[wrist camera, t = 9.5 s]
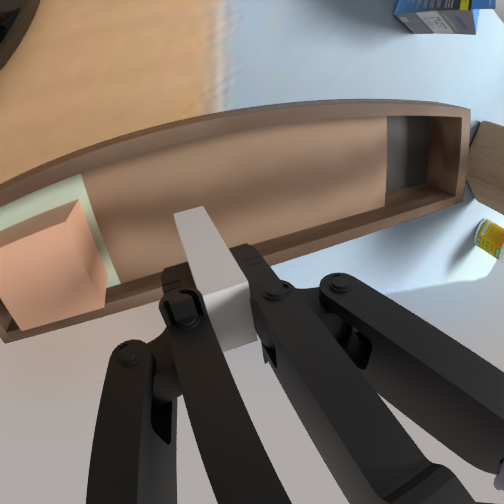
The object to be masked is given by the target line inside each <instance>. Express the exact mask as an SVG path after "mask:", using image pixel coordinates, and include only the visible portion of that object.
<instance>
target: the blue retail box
mask: <svg viewBox="0 0 504 504" xmlns="http://www.w3.org/2000/svg"><path fill="white" fill-rule="evenodd" d="M479 9H495V0H398V2H397V5H396V8H395V10H394V13H393V15H394V16H395V17H396V18H397V19H398V20H399V21H400V22H401V23H403V24H404V25H405V26H406V27H407V28H408V29H409V30H410V31H411V32H412V33H413V34H433V33H437V34H439V33H441V34H471V35H476V30H477V24H478V16H479Z"/></svg>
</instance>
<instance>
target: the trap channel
mask: <svg viewBox="0 0 504 504" xmlns="http://www.w3.org/2000/svg"><path fill="white" fill-rule="evenodd" d="M469 139H470V109H467V108H463V107H459V106H454V105H449V104H444V103H439V102H430V101H417V100H397V99H338V100H318V101H304V102H292V103H282V104H273V105H264V106H257V107H249V108H243V109H236V110H230V111H224V112H218V113H213V114H208V115H203V116H198V117H193V118H188V119H184V120H179V121H175V122H171V123H166V124H162V125H158V126H155V127H151V128H147V129H143V130H140V131H136V132H133V133H129V134H126V135H123V136H119V137H116V138H113V139H110V140H107V141H104V142H101V143H98V144H95V145H92V146H89V147H86V148H83V149H80V150H78V151H75V152H72V153H70V154H67V155H65V156H62V157H59V158H57V159H54V160H52V161H50V162H47V163H45V164H43V165H40V166H38V167H36V168H33V169H31V170H29V171H27V172H25V173H22V174H20V175H18V176H16V177H14V178H12V179H10V180H8V181H6V182H4V183H2V184H0V231H1V230H4V229H6V228H8V227H10V226H12V225H15V224H17V223H19V222H21V221H24V220H26V219H28V218H31V217H33V216H36V215H38V214H41V213H43V212H46V211H48V210H51V209H53V208H56V207H58V206H61V205H64V204H66V203H69V202H72V201H74V200H77V199H79V200H80V203H81V206H82V209H83V212H84V215H85V218H86V220H87V223H88V226H89V229H90V231H91V234H92V237H93V239H94V242H95V244H96V247H97V249H98V252H99V254H100V257H101V259H102V261H103V264H104V266H105V268H106V271H107V273H108V277H107V285H106V295H105V306H104V308H101V309H97V310H94V311H90V312H87V313H83V314H80V315H77V316H73V317H70V318H66V319H63V320H59V321H56V322H52V323H49V324H45V325H42V326H38V327H35V328H31V329H28V330H24V331H21V329H20V328H19V326H18V325H17V323H16V322H15V320H14V319H13V317H12V316H11V314H10V313H9V311H8V309H7V308H6V306H5V305H4V303H3V301H2V300H1V298H0V338H1V339H2V340H3V342H4V343H9V342H13V341H17V340H20V339H24V338H28V337H31V336H35V335H39V334H42V333H46V332H50V331H54V330H57V329H61V328H65V327H68V326H72V325H75V324H79V323H82V322H86V321H90V320H93V319H97V318H100V317H104V316H107V315H111V314H114V313H117V312H121V311H124V310H128V309H131V308H135V307H138V306H142V305H145V304H148V303H151V302H155V301H158V300H161V299H162V297H163V296H164V294H163V289H162V283H161V274H162V272H163V270H164V268H167V267H170V266H174V265H177V264H180V263H184V262H186V260H185V256H184V252H183V249H182V245H181V241H180V238H179V234H178V230H177V227H176V223H175V219H174V215H173V214H175V213H178V212H182V211H185V210H189V209H193V208H196V207H200V206H203V207H204V208H205V210H206V212H207V213H208V215H209V217H210V219H211V220H212V222H213V224H214V225H215V227H216V229H217V230H218V232H219V234H220V235H221V237H222V239H223V240H224V242H225V244H226V246H227V247H228V248H232V247H235V246H238V245H242V244H245V243H247V244H249V245H251V246H253V247H255V248H256V249H257V250H258V252H259V253H260V254H261V256H262V257H263V258H264V259H265V261H266V262H267V263H268V265H269V266H272V265H275V264H279V263H282V262H285V261H288V260H291V259H294V258H297V257H300V256H303V255H306V254H310V253H313V252H316V251H319V250H322V249H325V248H328V247H331V246H334V245H337V244H340V243H343V242H346V241H349V240H352V239H355V238H358V237H361V236H364V235H367V234H370V233H373V232H376V231H379V230H382V229H385V228H388V227H391V226H394V225H397V224H399V223H402V222H405V221H408V220H411V219H414V218H417V217H420V216H423V215H425V214H428V213H431V212H434V211H437V210H440V209H443V208H445V207H448V206H451V205H454V204H457V203H459V202H462V201H463V196H464V189H465V182H466V173H467V164H468V153H469Z"/></svg>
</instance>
